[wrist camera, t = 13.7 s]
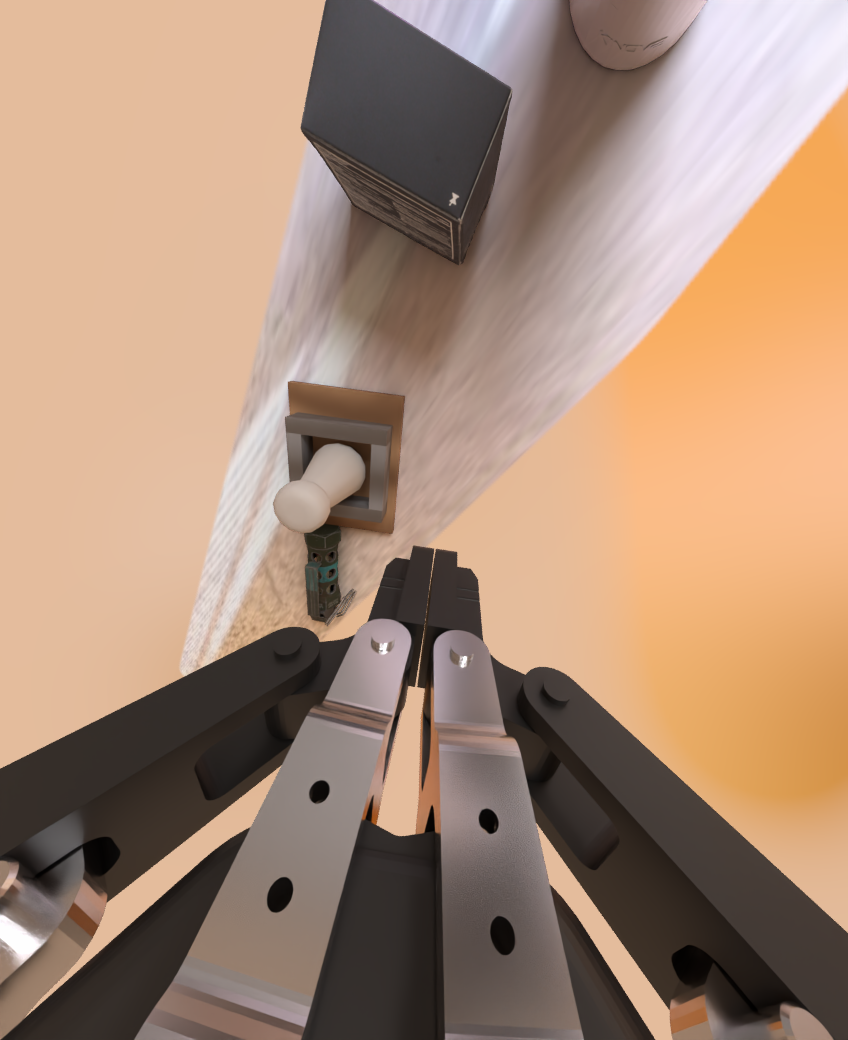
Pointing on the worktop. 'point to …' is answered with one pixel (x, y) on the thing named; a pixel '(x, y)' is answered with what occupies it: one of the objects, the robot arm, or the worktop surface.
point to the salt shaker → (320, 488)
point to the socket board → (363, 427)
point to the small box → (405, 124)
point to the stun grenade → (324, 574)
